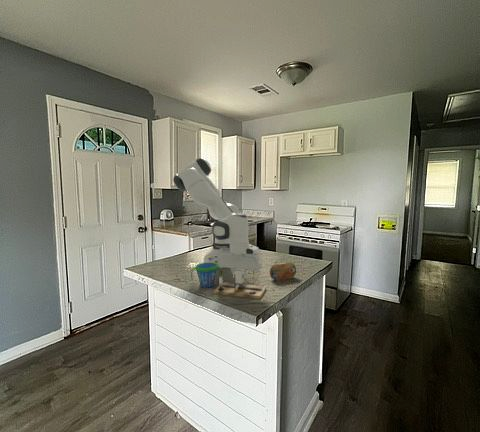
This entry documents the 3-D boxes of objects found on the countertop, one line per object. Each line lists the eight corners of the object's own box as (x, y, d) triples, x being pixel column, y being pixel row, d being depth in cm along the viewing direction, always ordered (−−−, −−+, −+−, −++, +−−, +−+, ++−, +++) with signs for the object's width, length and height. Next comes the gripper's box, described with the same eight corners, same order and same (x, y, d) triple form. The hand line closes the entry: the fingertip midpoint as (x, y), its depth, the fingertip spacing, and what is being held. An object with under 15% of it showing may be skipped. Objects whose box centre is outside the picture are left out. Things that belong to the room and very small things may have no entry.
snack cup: (190, 290, 126) (189, 268, 125) (192, 282, 137) (191, 263, 136) (223, 288, 128) (223, 267, 127) (222, 281, 138) (222, 261, 137)
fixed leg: (218, 290, 122) (218, 277, 122) (220, 288, 124) (219, 276, 123) (222, 290, 122) (221, 278, 121) (223, 289, 123) (223, 276, 123)
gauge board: (212, 293, 122) (212, 289, 121) (222, 284, 133) (222, 280, 133) (260, 298, 115) (260, 294, 114) (266, 289, 126) (266, 285, 126)
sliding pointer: (232, 290, 121) (231, 272, 120) (237, 285, 127) (236, 268, 126) (240, 291, 119) (240, 273, 119) (245, 286, 126) (244, 268, 125)
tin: (271, 282, 136) (271, 265, 135) (268, 280, 139) (268, 264, 138) (296, 277, 142) (296, 262, 141) (293, 276, 145) (293, 260, 144)
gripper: (215, 248, 123) (216, 277, 125) (258, 251, 117) (258, 281, 118) (220, 245, 129) (221, 273, 131) (262, 248, 123) (262, 277, 124)
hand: (239, 277), depth 124 cm, fingers closed on sliding pointer, 3 cm apart
